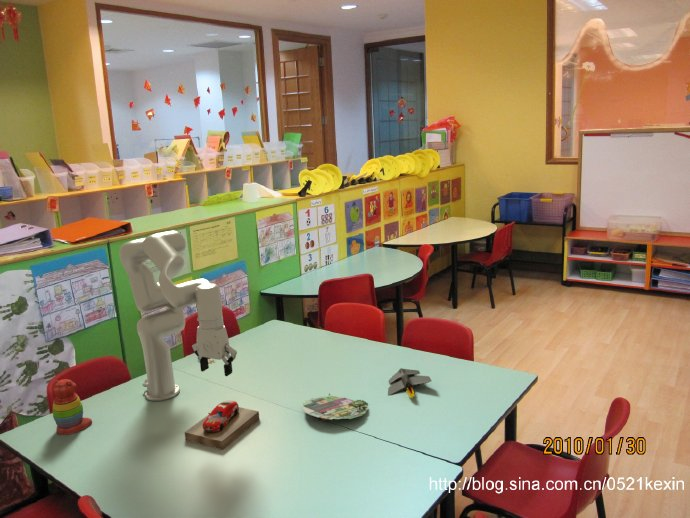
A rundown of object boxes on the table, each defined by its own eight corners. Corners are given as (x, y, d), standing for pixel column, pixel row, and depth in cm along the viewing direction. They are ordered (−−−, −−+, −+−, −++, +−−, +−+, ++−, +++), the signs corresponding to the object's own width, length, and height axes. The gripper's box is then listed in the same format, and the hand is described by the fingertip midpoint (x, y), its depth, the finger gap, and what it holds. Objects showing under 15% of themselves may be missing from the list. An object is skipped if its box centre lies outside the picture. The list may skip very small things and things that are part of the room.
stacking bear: (95, 422, 202) (87, 374, 198) (73, 437, 193) (64, 388, 188) (70, 418, 205) (62, 372, 201) (48, 433, 196) (38, 384, 192)
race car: (217, 435, 183) (215, 421, 181) (199, 433, 185) (197, 419, 184) (242, 410, 197) (241, 397, 196) (225, 408, 200) (224, 395, 198)
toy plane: (437, 394, 203) (433, 381, 202) (391, 409, 203) (387, 396, 202) (422, 367, 228) (419, 355, 227) (381, 381, 227) (378, 369, 226)
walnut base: (185, 440, 187) (184, 432, 186) (224, 411, 204) (223, 403, 203) (222, 449, 180) (221, 441, 179) (259, 419, 197) (258, 411, 196)
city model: (383, 407, 205) (382, 391, 204) (355, 433, 184) (355, 415, 183) (320, 398, 216) (320, 382, 215) (288, 421, 195) (287, 403, 194)
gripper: (182, 323, 184) (188, 372, 188) (225, 329, 176) (231, 381, 181) (197, 315, 191) (203, 363, 195) (240, 321, 183) (245, 371, 187)
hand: (216, 372), depth 188 cm, fingers open, 9 cm apart
